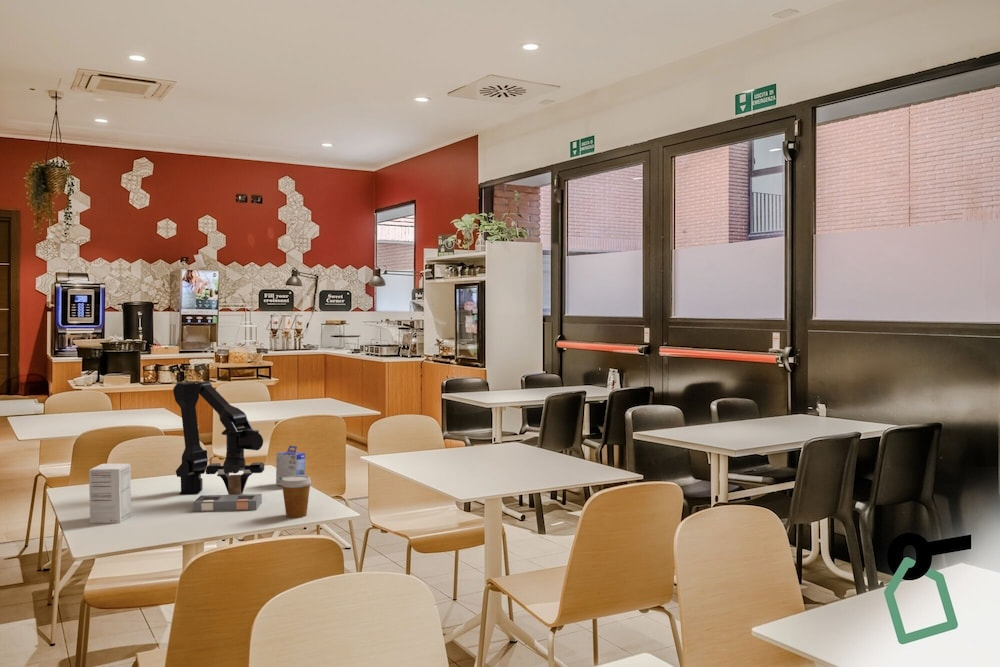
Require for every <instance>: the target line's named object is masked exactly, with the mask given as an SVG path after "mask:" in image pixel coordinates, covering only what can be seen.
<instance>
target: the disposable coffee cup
mask: <svg viewBox="0 0 1000 667" xmlns="http://www.w3.org/2000/svg"><path fill="white" fill-rule="evenodd" d="M281 484H282V486H281V487H282V494H283V495H282V496H283V501H284V502H283V503H284V508H285V517H286V518H289V517H290V518H289V519H291V518H292V519H299V518H298V517H300V518H303V516H304V517H306V516H308V515H307V514H308V513H307V512H308V506H309V497H310V488H311V484H312V480H311V477H310V476H309V475H305V476H303V475H295V476H287V477H284V478H282V482H281Z"/></svg>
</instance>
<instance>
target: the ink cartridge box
mask: <svg viewBox="0 0 1000 667" xmlns="http://www.w3.org/2000/svg"><path fill="white" fill-rule="evenodd" d="M297 447H298V446H295V445H289V446H288V449H287V451H281V452H277V453H276V455H275V456H276V460H275V461H276V462H275V466H276V467H275V470H276V471H275V472H276V473H275V476H276V479H275V485H276V486H281V487H282V484H281V482H282V478H284V477H287V476H295V475H303V476H306V452H297V449H298V448H297Z"/></svg>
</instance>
